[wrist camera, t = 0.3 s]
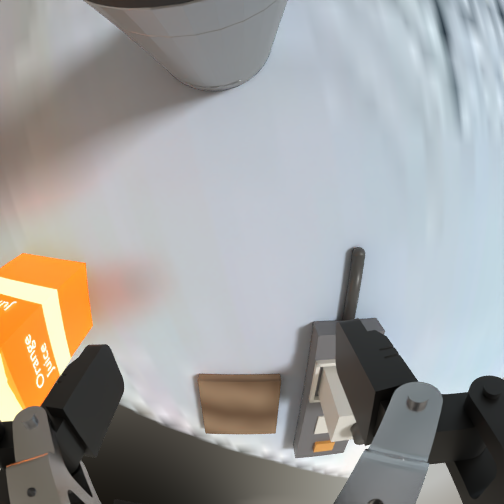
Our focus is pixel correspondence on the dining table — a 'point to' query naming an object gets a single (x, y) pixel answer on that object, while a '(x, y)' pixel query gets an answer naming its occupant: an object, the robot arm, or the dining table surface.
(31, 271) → the orange juice
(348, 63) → the dining table surface
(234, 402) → the walnut board
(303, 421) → the grey panel with rod
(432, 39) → the dining table surface
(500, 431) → the robot arm
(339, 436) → the plug
